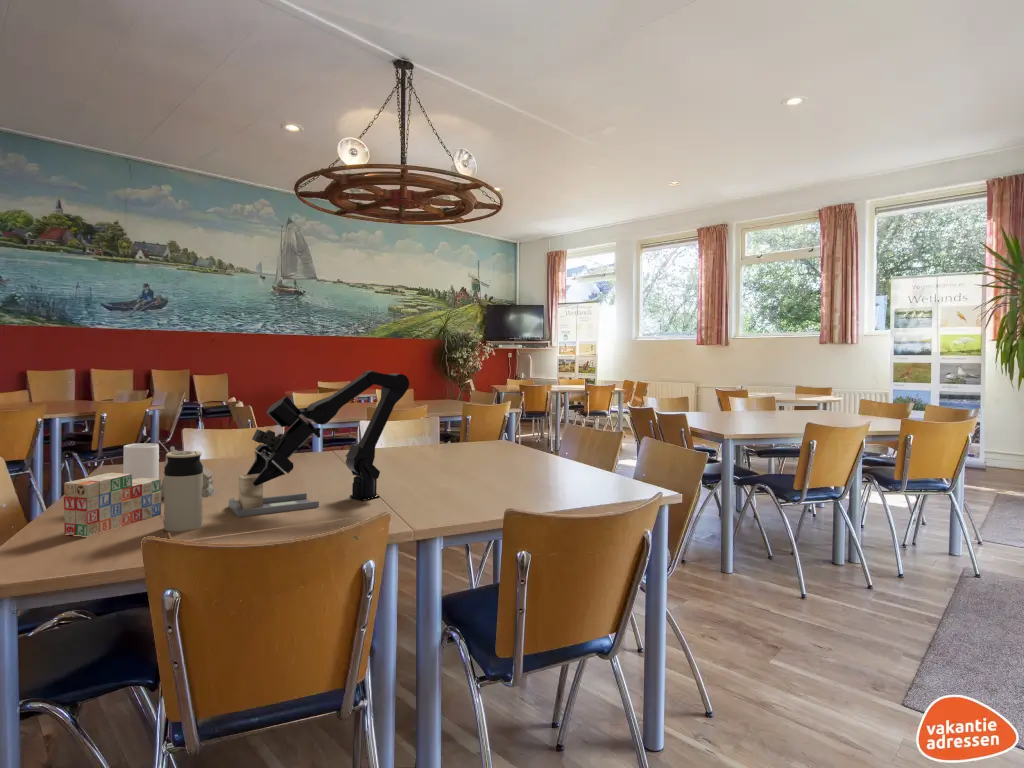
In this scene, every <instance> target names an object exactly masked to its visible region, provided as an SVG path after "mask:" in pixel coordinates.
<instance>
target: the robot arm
mask: <svg viewBox="0 0 1024 768" xmlns="http://www.w3.org/2000/svg"><path fill="white" fill-rule="evenodd" d="M374 385H375V386H378V387H381V388H380V389H381V390H380V398H379V401H378V403H377V406H376V408H375V410H374V412H373V414H372V417H371V418H370V421H369V423H368V425H367V427H366V429H365V432H364V434H363V436H362V438H361V439H360V441H359V442H358V443H357V444H354V443H351V445H350V447H349V450H348V452H347V453H346V454H345V457H346V460H345V464H346V467H347V468H348V470H350V472H351V473H352V474H351V475H352V476H354V477H353V482H352V490H351V491H352V492H351V493H352V494H351V495H350V494H349V498H352V497H353V499H356V498H357V500H360V499H362V500H361V501H364V500H363V499H367V500H369V499H368V498H372V497H375V496H376V495H378V494H377V488H378V487H377V481H378V480H377V479H379V477H380V473H381V471H380V470H379V469H378V468H377V467H376V466H375V465H374V462H375V458H376V457H375V456H376V446H377V444H378V442H379V439H380V438H381V435H382V434H383V431H384V428H385V426H386V424H387V423H388V420H389V418H390V415H392V412H393V409H394V408H395V405H397V403H398V402H399V401H400V400H401V399H402V398H403V397H404V395H405V394H406V393H407V391H408V389H409V388H410V380H409V377H408V376H406V375H405V374H402V373H388V374H385V373H382V372H377V371H375V370H366V371H364V372H363V373H362V374H361V375H359V376H358V377H357V378H355V379H354V380H352V381H351V382H349V383H348V384H347V385H346V384H345V386H344V387H342V388H341V389H339V390H338V391H337V392H334V393H333V394H332V395H329V396H327V397H324V398H321V399H319V400H316V401H315V402H312V403H310V404H309V405H307V407H300V408H298V406H296V405H295V403H293V402H292V400H291V399H290V397H289V396H283V397H281V398H280V399H279V400H277V401H276V402H275V403H272V405H270V406H269V407H268V409H267V410H266V412H265V413H266V415H268V416H269V417H270V418H271V419H272V420H273V421H274V422H276V424H277V425H279V427H281V428H285V427H286V428H288V429H287V430H286V431H285V432H284V433H278V434H277V435H276V432H275V431H272V430H270V429H267V430H266V431H264V430H261V429H258V428H256V430H255V432H254V434H253V437H252V439H251V440H253V442H255V443H256V442H257V443H259V444H258V446H256V448H255V451H254V458H255V459H254V461H253V463H252V465H251V466H250V468H249V470H248V471H247V473H246V475H250V474H259V475H258V477H257V478H256V479H255V481H254V482H253V484H254V485H255V486H258V485H260V484H262V483H263V484H264V483H266V482H269V481H271V480H274V479H277V478H278V477H281V476H285V475H286V474H290V473H291V471H293V469H294V463H293V462H292V461H291V460H290V459H289V458H290V457H292V456H293V455H294V454H295V453H296V452H297V453H299V452H300V451H301V447H302V446H303V445H304V443H305V442H307V440H308V439H310V437H312V436H314V437H315V438H318V439H320V438H321V428H320V427H315V426H314V424H317V425H326V424H328V423H329V422H330V421H331V420H332V419H333V418H334V417H335V416H336V415H337V413H338V412H339V411H340V410H341V408H342V407H344V406H345V405H346V404H348V403H350V402H351V401H352V400H354V399H355V398H356V397H358V396H360V395H361V394H363V392H365V391H366V390H368V389H369V388H371V387H373V386H374ZM302 418H305V419H307V421H305V420H304V419H302ZM312 423H313V424H312ZM372 499H373V498H372Z"/></svg>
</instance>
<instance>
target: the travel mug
mask: <svg viewBox="0 0 1024 768" xmlns="http://www.w3.org/2000/svg"><path fill="white" fill-rule="evenodd" d="M202 454H203V452H202V451H199V450H177V452H167V453H166V454H165V457H166V456H167V459H168V463H167V465H166V466H165V468H164V469H165V473H164V472H163V475H164V477H163V478H164V498H163V499H164V503H163V504H164V505H163V507H164V508H163V510H164V511H163V514H164V515H163V518H164V519H163V520H164V521H163V522H164V523H163V527H164V530H165V531H167V532H186V531H192V530H196V529H199V528H201V527H202V526H203V513H204V512H203V510H204V509H203V506H204V505H203V501H204V500H203V499H204V497H203V465H202V464H201V462H200V460H201V456H202Z"/></svg>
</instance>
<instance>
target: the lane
mask: <svg viewBox="0 0 1024 768" xmlns="http://www.w3.org/2000/svg"><path fill="white" fill-rule="evenodd" d="M307 497H308V496H307V492H301V493H294V494H293V493H291V494H284V495H274V496H267V497H264V496H263V507H260V508H252V509H243V510H241V505H240V504H239V499H237V500H236V499H235V498H234V497H231V498H229V500H228V508H229V509H230V511H231V512H232V513H233V514H235V516H236V517H238V518H242V517H243V518H244V517H251V516H257V515H267V514H273V513H275V514H276V513H281V512H282V513H283V512H289V511H298V510H306V509H315V508H319V507H320V501H319V500H314V501H311V500H309V499H308V498H307Z"/></svg>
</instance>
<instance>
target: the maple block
mask: <svg viewBox="0 0 1024 768" xmlns="http://www.w3.org/2000/svg"><path fill="white" fill-rule="evenodd" d="M258 475H259V474H250V475H247V474H241V475H240V474H239V475H238V500H239V504H240V505H241V510H243V509H252V508H260V507H263V498H264V483H262V484H260V485H258V486H255V485H254V484H253V482H254V481H255V479H256V478H257V477H258Z"/></svg>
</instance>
